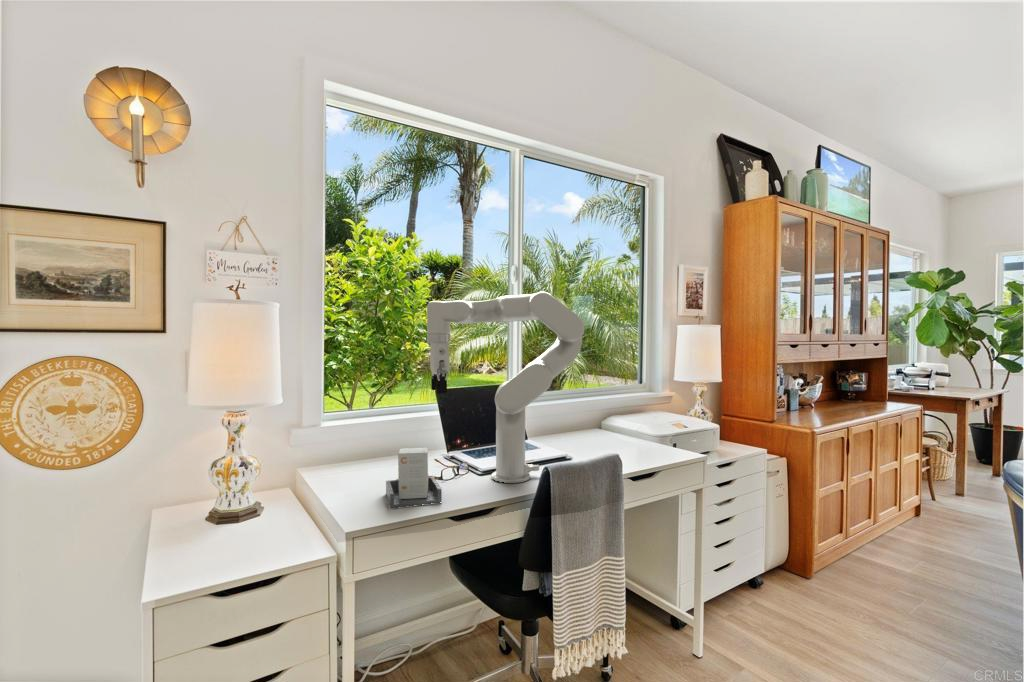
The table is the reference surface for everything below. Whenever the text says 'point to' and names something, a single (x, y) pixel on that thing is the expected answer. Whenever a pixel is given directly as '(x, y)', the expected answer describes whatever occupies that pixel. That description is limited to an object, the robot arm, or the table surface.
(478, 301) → the robot arm
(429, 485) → the cradle
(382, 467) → the table surface
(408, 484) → the small box
